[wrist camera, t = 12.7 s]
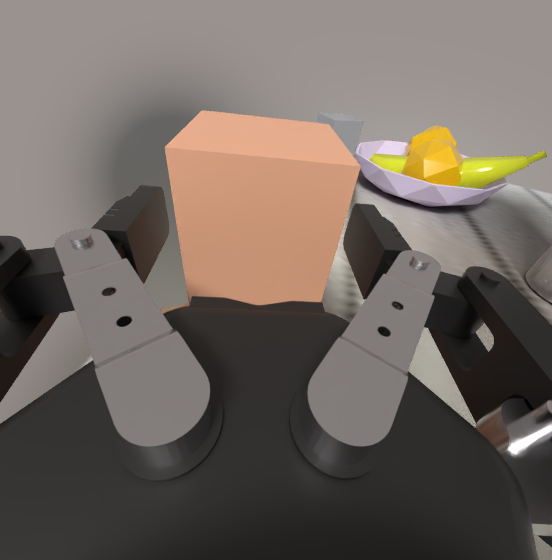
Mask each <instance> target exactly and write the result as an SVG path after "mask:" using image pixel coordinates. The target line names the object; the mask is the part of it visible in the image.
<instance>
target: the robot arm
mask: <svg viewBox="0 0 552 560" xmlns="http://www.w3.org/2000/svg"><path fill="white" fill-rule="evenodd" d="M168 234H169V221H168V215H167V209H166V203H165V198H164V193H163V190H162V188H161V187H157V186H144V185H141V186H139V188H138V189H137V190H136V191H135V192H134V193H133V194H132V195H131V196H130V197H128V196H127V197H125V198H123V199H121V200H119V201H117V202H116V203H115V204H114V205H113V206H112V207H111V208H110V209H109V210H108V211H107V212H106V214H105V215H103V217H102V218H101V219H100V220H99V221H98V222H97V223H96V224H95V225H94V226H93V227H92V228H91V229H79V230H74V231H71V232H68V233H66V234H64V235H62V236H60V237H59V238H58V239H57V240H56V241H55V243H54V247H53V248H44V249H35V250H26V248H25V247H24V245H23V243H22V242H21V240H20V239H18V238H16V237H13V236H0V402H1V400H2V399H3V398H4V396H5V395H6V393H7V392H8V390H9V389H10V387H11V386H12V384H13V383H14V381H15V380H16V378H17V377H18V375H19V374H20V372H21V371H22V369H23V368H24V366H25V365H26V363H27V362H28V360H29V359H30V357H31V356H32V354H33V353H34V351H35V350H36V349H37V347H38V346H39V344H40V343H41V341H42V340H43V338H44V337H45V335H46V333H47V332H48V331H49V329H50V328H51V326H52V324H53V323H54V322H55V320H56V319H57V317H58V315H59V314H60V313H62V312H68V311H74V310H75V312H76V314H77V317H78V320H79V323H80V325H81V328H82V331H83V333H84V336H85V339H86V342H87V344H88V347H89V350H90V353H91V355H92V358H93V360H92V361H91V362H89V363H88V364H87V365H85V366H84V367H82V368H81V369H79V370H78V371H76V372H75V373H74V374H72V375H71V376H69V377H68V378H66V379H65V380H63V381H62V382H61V383H59V384H58V385H56V386H55V387H53V388H52V389H50V390H49V391H47V392H46V393H44V394H43V395H42V396H40V397H39V398H37V399H36V400H34V401H33V402H32V403H30V404H28V405H27V406H26V407H24V408H23V409H21V410H20V411H18V412H17V413H15V414H14V415H13V416H11V417H10V418H8V419H7V420H6V421H4V422H3V423H1V424H0V560H539V559H538V555H537V551H536V546H535V542H534V536H533V535H538V536H539V537H540V538H541V539H542V540H544V541H545V542H546V543H547V544H548V545H550V546H551V547H552V325H551V324H550V323H549V322H548V321H547V320H546V319H545V318H544V317H543V316H542V315H541V314H540V313H539V312H538V311H537V310H536V309H535V308H534V307H533V306H532V305H531V304H530V302H529V301H528V300H527V299H526V298H525V297H524V296H523V295H522V294H521V293H520V292H519V291H518V290H517V289H516V288H515V287H514V286H513V285H512V284H511V283H510V282H509V281H508V280H507V279H506V278H505V277H503V276H502V275H500V274H498V273H497V272H495V271H492V270H490V269H487V268H483V267H476V266H474V267H469V268H468V269H467V270H466V271H465V273H464V274H463V275H462V277H460V276H456V275H452V274H448V273H444V272H441V266H440V264H439V263H438V262H437V261H436V260H435V259H434V258H432V257H431V256H429V255H427V254H424V253H422V252H418V251H413V250H412V249H411V248H410V246H409V245H408V244H407V242H406V241H405V240H404V238H403V237H401V236H402V235H401V234H400V233H399V231H398V230H397V228H396V227H395V226H394V224H393V223H392V222H390V221H389V220H387V219H386V218H385V217H382V216H381V214H380V213H379V211H378V210H377V208H376V207H375V206H374V205H370V204H358V203H356V204H355V205H354V207H353V209H352V212H351V216H350V219H349V222H348V225H347V229H346V232H345V235H344V242H343V246H344V250H345V253H346V255H347V258H348V260H349V263H350V265H351V268H352V271H353V273H354V276H355V278H356V281H357V283H358V286H359V288H360V291H361V294H362V296H363V299H366V300H365V302H364V303H363V305H362V306H361V308H360V309H359V311H358V312H357V314H356V315H355V317H354V318H353V320H352V321H351V323H349V322H348V321H346V320H344V319H342V318H340V317H338V316H336V315H333V314H330V313H327V312H324V308H323V303H322V302H306V301H287V302H280V303H273V304H266V305H254V304H250V303H245V302H241V301H237V300H233V299H229V298H223V297H202V296H192V298H191V302H190V305H189V306H185V307H180V308H176V309H173V310H170V311H168V312H165V313H163V314H162V312H161V310H160V309H159V308H158V306H157V304H156V303H155V301H154V300H153V298H152V297H151V295H150V294H149V292H148V290H147V289H146V287H145V286H144V283H145V281H146V279H147V277H148V275H149V273H150V271H151V269H152V267H153V265H154V263H155V261H156V259H157V257H158V255H159V253H160V251H161V249H162V247H163V245H164V243H165V241H166V239H167V237H168ZM525 277H526V281H527V282H528V284H529V285H530V286H531V288H532V289H533V290H534V291H535V292H537V293H538V294H539V295H540V296H542V297H543V298H544V299H546V300H547V301H549V302H550V303H552V245H551V246H550V247H549V248H548V249H547V250H546V251H545V252H544V254H543V255H542V256H541V257H540V258H539V259H538V260H537V261H536V262H535V264H534V265H533V266H532V267H531V268H530V269H529V270H528V271H527V272H526V275H525ZM484 323H485V324H486V325H487V327H488V328H489V330H490V331H491V332H492V334H493V337H494V345H493V348H492V349H491V350H490V351H489V352H488V351H487V349H486V348H485V346H484V345H483V343H482V342H481V340H480V339H479V337H478V336H477V334H476V333H475V332H476V331H477V330H478V329H479V328H480V327H481V326H482V325H483V324H484ZM424 327H426V328H428V329H429V331H430V333H431V335H432V337H433V339H434V341H435V343H436V345H437V347H438V349H439V351H440V353H441V355H442V357H443V359H444V361H445V363H446V365H447V367H448V369H449V371H450V373H451V375H452V377H453V379H454V381H455V383H456V385H457V387H458V389H459V391H460V393H461V394H462V396H463V398H464V400H465V402H466V404H467V406H468V408H469V410H470V412H471V414H472V416H473V418H474V420H475V422H476V428H475V427H473V426H472V425H471V424H470V423H469V422H468V421H466V420H465V419H464V418H463V417H462V416H460V415H459V414H458V413H457V412H456V411H455V410H453V409H452V408H451V407H450V406H449V405H447V404H446V403H445V402H444V401H443V400H442V399H440V398H439V397H438V396H437V395H436V394H434V393H433V392H432V391H431V390H430V389H429V388H427V387H426V386H425V385H424V384H423V383H421V382H420V381H419V380H418V379H417V378H416V377H414V376H413V375H412V374H411V373H410V372H408V369H409V366H410V363H411V361H412V358H413V355H414V352H415V350H416V347H417V344H418V341H419V339H420V336H421V333H422V331H423V328H424Z"/></svg>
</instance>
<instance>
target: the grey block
mask: <svg viewBox="0 0 552 560" xmlns="http://www.w3.org/2000/svg"><path fill="white" fill-rule="evenodd" d="M317 123H322V124H329V125H330V126H331V128H332V129H333V130H334V132H335V133H336V134H337V136H338V137H339V138H340V140H341V141H342V142H343V143H344V145H345V146H346V147H347V149H348V150H349V151H350V153H351V154H352V155H353V157H354V155H355V152H356V148H357V144H358V141H359V137H360V133H361V130H362V126H363V121H362V120H359V119H357V118H354V117H352V116H349V115H347V114H333V113H318V119H317Z"/></svg>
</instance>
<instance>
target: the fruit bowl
mask: <svg viewBox="0 0 552 560" xmlns="http://www.w3.org/2000/svg"><path fill="white" fill-rule="evenodd" d="M456 148H457V143H456V142H455V140H454V138H453V137H452V135H451V133H450V132H449V130H448V128H445V127H441V126H436V125H434V126H433V127H431V128H429V129H427V130H425V131H423V132H421V133H420V134H418V135H416V136H414V137H413V138H412V140H411V141H410V142H409V143H404V142H394V141H386V140H383V141H373V142H364V143H360V144H359V146H358V148H357V151H356V157H357V161H358V163H359V165H360V166H361V168H360V170H361V171H362V173H363V174H364V176H365V177H366V178H367V179H368V180H369V181H370V182H372V183H373V184H374V185H376V186H377V187H378V188H379V189H381V190H382V191H383V192H386V193H389V194H392V195H395V196H398V197H400V198H403V199H406V200H409V201H412V202H415V203H418V204H421V205H424V206H427V207H432V206H453V205H473V204H479V203H480V202H482V201H483V200H485V199H486V198H488V197H489V196H491V195H492V194H494V193H495V192H497V191H498V190H500V189H501V188H503V187H504V186H506V185H507V184H509V182H508V181H507V180H506V179H505V178H504V177H506V176H508V175H511V174H513V173H515V172H517V171H519V170H521V169H523V168H525V167H527V166H528V164H530V163H532V162H535V161H537V160H540V159H542V158H545V157H547V155H546V152H545V150H544V151H541V152H539V153H536V154H534V155H532V156H529V157H527V158H526V156H503V157H502V156H501V157H477V158H469V157H467V156H464V155H462V154H460V153H459V152H458V150H457V149H456Z"/></svg>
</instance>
